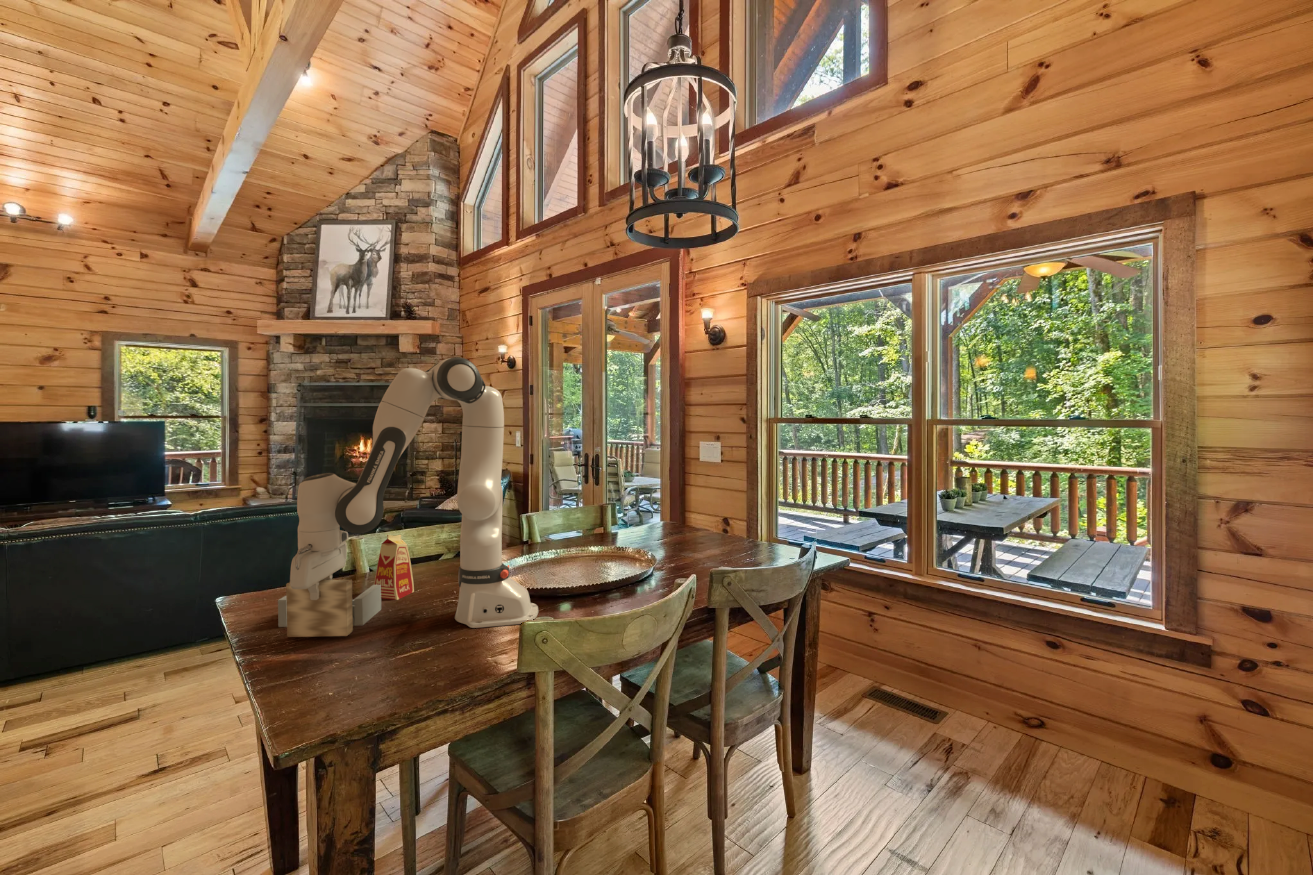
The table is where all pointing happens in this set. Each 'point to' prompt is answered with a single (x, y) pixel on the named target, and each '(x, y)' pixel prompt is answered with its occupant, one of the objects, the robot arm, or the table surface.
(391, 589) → the milk carton
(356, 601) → the rack
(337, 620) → the panel
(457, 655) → the table surface
